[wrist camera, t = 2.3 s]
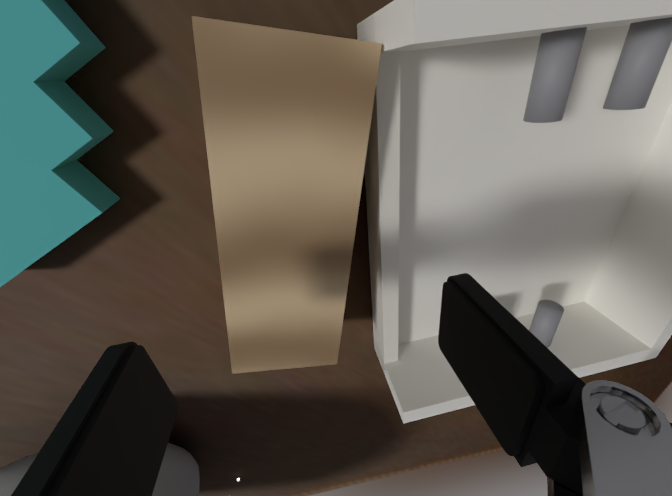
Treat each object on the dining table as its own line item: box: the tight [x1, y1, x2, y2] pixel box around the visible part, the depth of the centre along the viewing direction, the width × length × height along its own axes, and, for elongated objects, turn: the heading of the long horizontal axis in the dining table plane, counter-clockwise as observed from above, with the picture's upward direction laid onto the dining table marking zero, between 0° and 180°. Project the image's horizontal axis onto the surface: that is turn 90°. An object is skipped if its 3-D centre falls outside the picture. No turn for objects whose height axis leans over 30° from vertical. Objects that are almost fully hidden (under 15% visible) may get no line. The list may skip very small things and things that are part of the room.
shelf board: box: [192, 16, 382, 374], centre depth 15 cm, size 16×6×4 cm, turn 175°
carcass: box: [357, 0, 672, 424], centre depth 16 cm, size 20×18×6 cm
